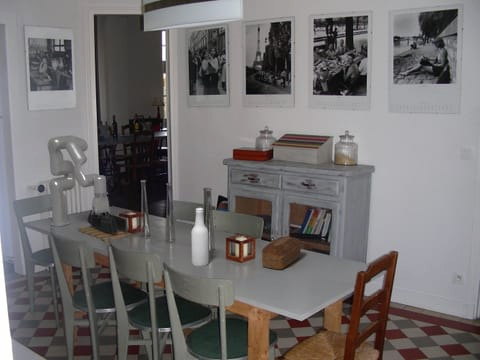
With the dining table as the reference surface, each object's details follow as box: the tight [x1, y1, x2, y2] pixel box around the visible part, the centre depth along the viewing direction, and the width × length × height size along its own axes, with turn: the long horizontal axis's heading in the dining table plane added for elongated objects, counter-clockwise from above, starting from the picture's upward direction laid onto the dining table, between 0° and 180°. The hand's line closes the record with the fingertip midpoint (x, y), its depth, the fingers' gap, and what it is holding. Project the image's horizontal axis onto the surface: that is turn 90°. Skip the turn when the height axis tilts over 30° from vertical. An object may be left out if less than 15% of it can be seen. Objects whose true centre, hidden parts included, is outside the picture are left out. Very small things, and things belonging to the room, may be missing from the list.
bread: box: [261, 235, 302, 270], centre depth 290 cm, size 14×28×12 cm, turn 151°
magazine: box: [87, 209, 117, 233], centre depth 343 cm, size 17×3×30 cm
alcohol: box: [190, 207, 210, 267], centre depth 286 cm, size 9×9×30 cm
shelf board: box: [76, 224, 131, 242], centre depth 346 cm, size 34×18×2 cm, turn 45°
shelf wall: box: [100, 212, 128, 233], centre depth 350 cm, size 30×1×9 cm, turn 45°
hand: (101, 223), depth 345 cm, fingers closed on magazine, 3 cm apart
